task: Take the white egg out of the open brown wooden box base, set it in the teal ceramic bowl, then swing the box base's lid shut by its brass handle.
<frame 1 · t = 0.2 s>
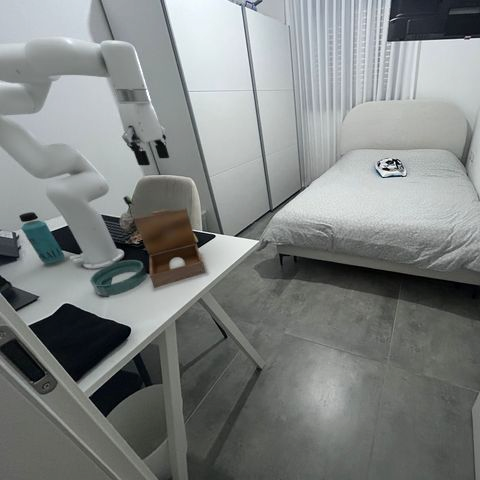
hand: (154, 161, 79), 37 cm above the table, tool pointing down, fingers open, 9 cm apart
brown wooden box base: (179, 270, 92), on the table
beverage bottle: (56, 262, 98), on the table
bowl: (123, 282, 86), on the table
pastry: (188, 244, 109), on the table
egg: (179, 271, 90), point 1 cm above the table, touching brown wooden box base
plant with pod: (136, 240, 113), on the table
egg box lid: (166, 228, 91), point 14 cm above the table, hinge at 78.0°
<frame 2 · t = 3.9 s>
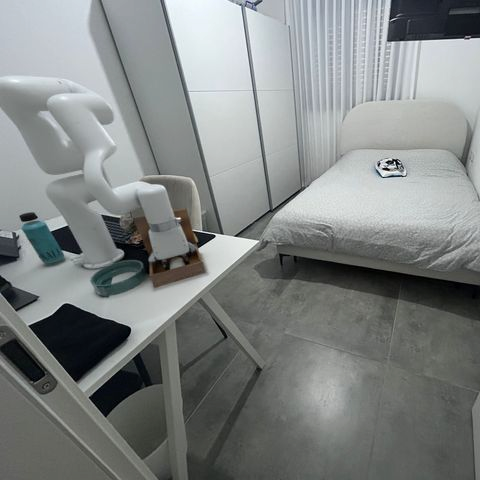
hand: (179, 270, 90), 1 cm above the table, tool pointing down, fingers closed on egg, 4 cm apart
egg: (179, 271, 90), point 1 cm above the table, touching gripper
everything else where it was.
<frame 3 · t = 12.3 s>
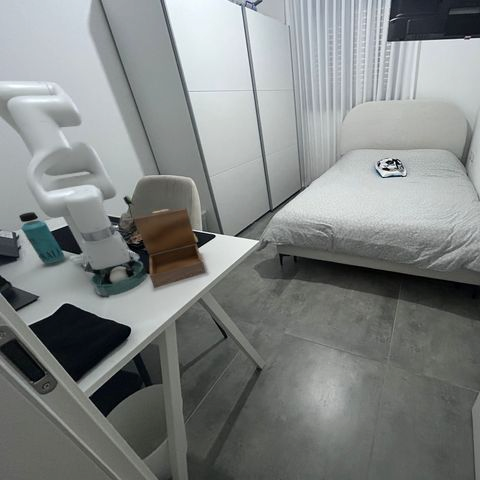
hand: (121, 280, 86), 1 cm above the table, tool pointing down, fingers closed on egg, 4 cm apart
egg: (122, 281, 86), point 1 cm above the table, touching gripper
everything else where it was.
when the fingers open (2 cm above the table, at t = 20.3 s): egg drops 1 cm, resting on bowl.
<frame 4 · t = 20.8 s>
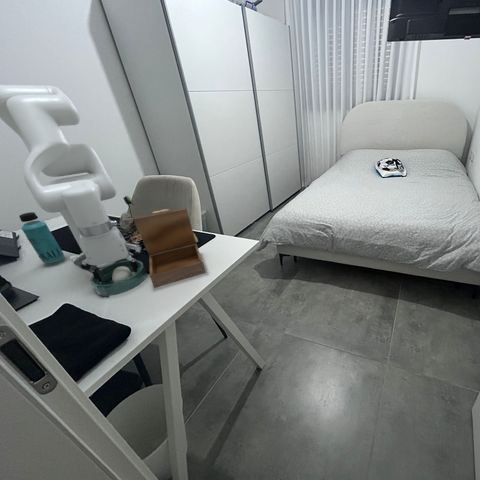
hand: (119, 274, 85), 3 cm above the table, tool pointing down, fingers open, 9 cm apart
egg: (122, 281, 86), point 1 cm above the table, tilted 16°, touching bowl
everything else where it was.
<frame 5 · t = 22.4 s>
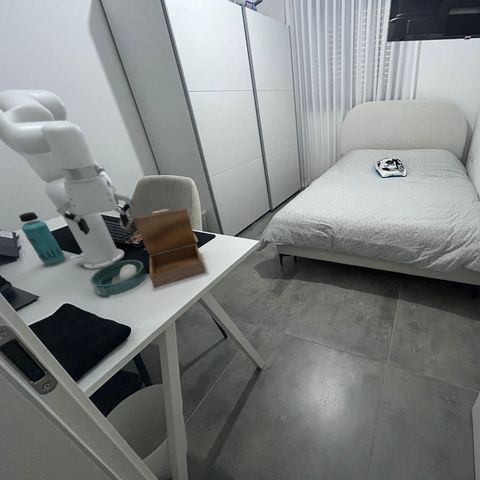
hand: (107, 228, 79), 19 cm above the table, tool pointing down, fingers open, 9 cm apart
egg: (122, 277, 86), point 2 cm above the table, tilted 64°, touching bowl
everything else where it was.
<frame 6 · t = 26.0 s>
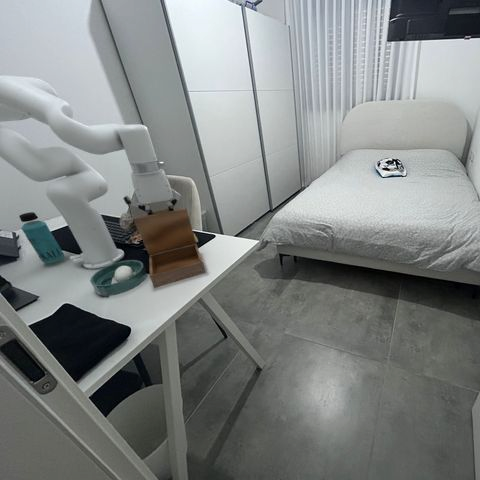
hand: (163, 219, 90), 17 cm above the table, tool pointing down, fingers closed on egg box lid, 5 cm apart
egg: (121, 280, 86), point 1 cm above the table, tilted 30°, touching bowl
egg box lid: (166, 228, 91), point 14 cm above the table, hinge at 78.0°, touching gripper
everything else where it was.
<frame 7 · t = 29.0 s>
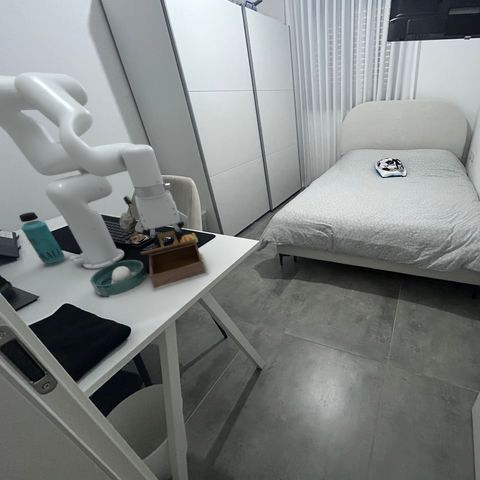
hand: (169, 243, 84), 13 cm above the table, tool pointing down, fingers closed on egg box lid, 5 cm apart
egg: (122, 281, 86), point 1 cm above the table, tilted 14°, touching bowl
egg box lid: (169, 241, 88), point 11 cm above the table, hinge at 29.6°, touching gripper
everything else where it was.
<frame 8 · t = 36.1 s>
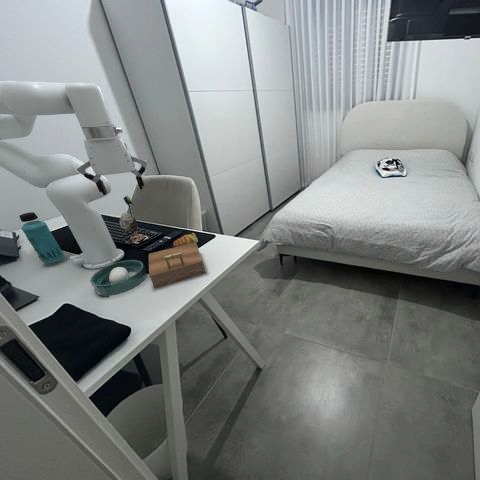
hand: (124, 191, 82), 28 cm above the table, tool pointing down, fingers open, 9 cm apart
egg: (122, 281, 86), point 1 cm above the table, touching bowl
egg box lid: (173, 252, 88), point 8 cm above the table, hinge at -0.2°, touching brown wooden box base
everything else where it was.
at the end: egg inside the target area in the bowl (0.1 cm from its centre), point 0.6 cm above the bowl's base; the gripper is holding nothing; egg box lid at +0° (first picture: +78°) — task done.
